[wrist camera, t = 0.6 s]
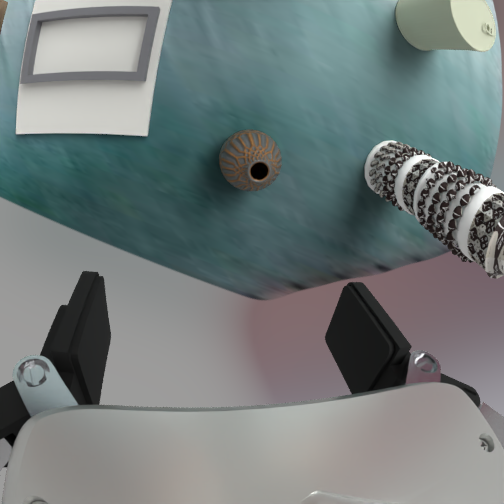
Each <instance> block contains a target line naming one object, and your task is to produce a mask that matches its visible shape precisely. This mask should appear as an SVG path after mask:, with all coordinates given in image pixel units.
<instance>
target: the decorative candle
mask: <svg viewBox="0 0 504 504" xmlns="http://www.w3.org/2000/svg"><path fill="white" fill-rule="evenodd" d="M364 168H365V179H366V181H367V184H368V186H369V187H370V188H371V189H372V190H373V191H374V192H375V193H377V194H380V197H384V196H386V198H385V200H386V201H392V205H393V206H398V209H399V210H400V211H403V210H405V211H406V212H408V213H409V214H411V215H414V216H416V219H417V220H418V221H419V222H420V224H421V225H422V226H424V227H425V229H426V230H429V232H430V233H432V234H433V236H434V238H438V240H439V241H442V243H443V244H444V245H447V246H448V249H449V250H452V254H454V255H458V256H459V257H461V256H462V258H461V260H462V261H463V262H464V261H465V262H466V261H467V260H468V261H469V262H470V263H471V262H473V261H475V262H476V263H477V264H479V265H480V266H481V267H482V268H484V269H485V270H486V272H487V274H488V276H489V277H490V278H496V279H497V278H499V277H501V276H503V275H504V192H502V191H501V190H499V189H497V187H496V186H495V185H494V184H492V180H491V179H490V178H488V177H486V178H484V176H483V175H482V174H475V172H474V171H473V170H471V169H470V170H468V169H462V168H461V166H460V165H456V166H454V164H453V163H452V162H450V161H449V162H439V161H438V160H436V159H433V158H431V155H430V154H425V153H424V152H423V151H422V150H419V151H418V150H417V149H416V148H413V147H410V146H409V145H407V144H403V143H401V142H396V141H393V140H391V141H383V142H381V143H379V144H378V145H376V146H374V148H373V149H372V150H371V152H370V153H369V154H368V156H367V160H366V163H365V166H364ZM477 181H480V182H481V183H479V182H477ZM488 185H489V186H488ZM454 244H456V246H457V247H458V248H459V249H457V248H456V247H455V246H454Z"/></svg>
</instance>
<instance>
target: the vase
mask: <svg viewBox="0 0 504 504" xmlns="http://www.w3.org/2000/svg"><path fill="white" fill-rule="evenodd" d="M281 163H282V159H281V153H280V150H279V148H278V146H277V144H276V143H275V141H274V140H273V139H272V138H271V137H269V136H268V135H267V134H265V133H263V132H260V131H257V130H242V131H239V132H236V133H234V134H233V135H231V136H230V137H229V138H228V139H227V140H226V141H225V142H224V144H223V146H222V148H221V150H220V155H219V164H220V169H221V172H222V174H223V176H224V177H225V179H226V180H227V181H228V182H229V183H230V184H231V185H233V186H234V187H236V188H238V189H241V190H245V191H258V190H261V189H264V188H266V187H268V186H269V185H270V184H272V183H273V182H274V181H275V179H276V178H277V176H278V174H279V172H280V169H281Z"/></svg>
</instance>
